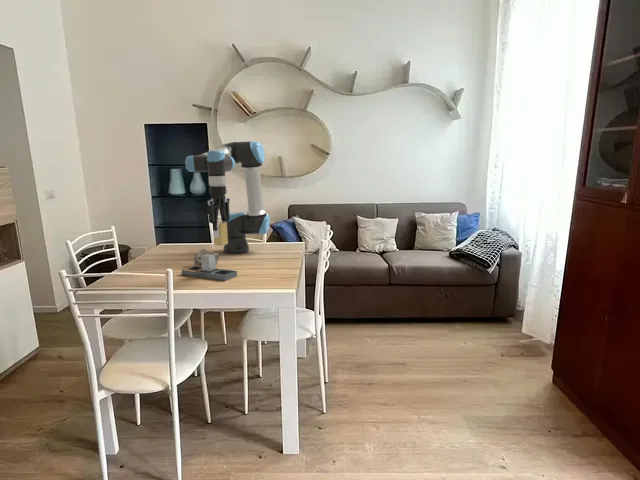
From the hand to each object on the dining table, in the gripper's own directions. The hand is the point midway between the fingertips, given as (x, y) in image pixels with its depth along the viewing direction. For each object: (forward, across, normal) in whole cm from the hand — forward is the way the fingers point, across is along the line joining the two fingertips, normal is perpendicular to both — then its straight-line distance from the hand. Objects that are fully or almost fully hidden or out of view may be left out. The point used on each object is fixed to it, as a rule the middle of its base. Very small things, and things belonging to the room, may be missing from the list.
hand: (220, 236), depth 194 cm
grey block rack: (+19, 0, -8) cm, 21 cm away
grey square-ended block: (+20, 0, -8) cm, 21 cm away
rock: (+20, -14, -22) cm, 33 cm away
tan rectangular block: (+4, 0, 0) cm, 4 cm away
